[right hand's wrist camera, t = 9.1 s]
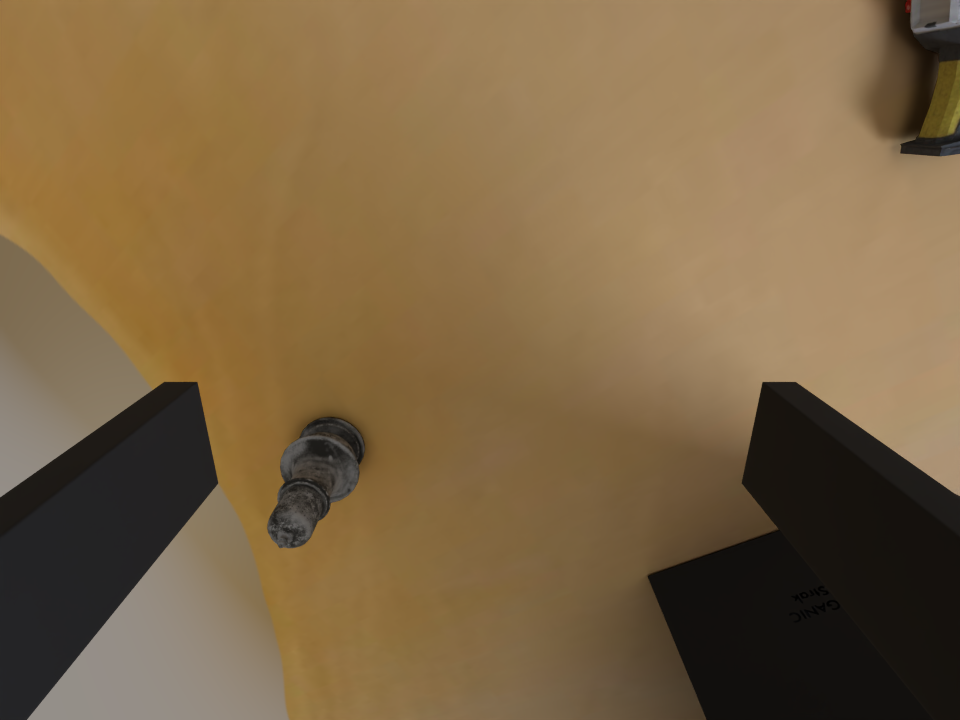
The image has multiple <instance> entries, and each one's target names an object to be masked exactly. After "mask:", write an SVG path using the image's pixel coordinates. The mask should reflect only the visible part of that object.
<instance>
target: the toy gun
mask: <svg viewBox="0 0 960 720" xmlns="http://www.w3.org/2000/svg"><path fill="white" fill-rule="evenodd" d="M905 10H906V13H909V12H911V14H910V23H911V29H912V31H913V32H914V34H913V36H914V37H915V38H916V39H917V40H918V41H919V43H920V44H921V45H922V46H923V47H924V48H925V49H927V50H930V51H933V52H937V53H939V71H938V78H937V82H936V86H935V89H934V93H933V97H932V101H931V104H930V107H929V110H928V112H927V115H926V118H925V121H924V123H923V126H922V129H921V131H920V134H919V136H918V137H917V138H916V140H913V141H910V142H906V143H903V144H901V152H900V153H902V154H916V155H929V156H947V155H954V154H960V0H907V2H906V4H905Z"/></svg>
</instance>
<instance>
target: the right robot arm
mask: <svg viewBox="0 0 960 720" xmlns="http://www.w3.org/2000/svg"><path fill="white" fill-rule="evenodd" d="M217 484H218V479H217V475H216V470H215V465H214V460H213V455H212V450H211V446H210V441H209V436H208V431H207V426H206V422H205V417H204V412H203V407H202V402H201V397H200V393H199V388H198V383H197V382H164V383H162V384H161V385H159V386H158V387H157V388H155V389H154V390H152V391H151V392H150V393H148V394H147V395H145V396H144V397H142V398H141V399H140V400H138V401H137V402H135V403H134V404H132V405H131V406H130V407H128V408H127V409H125V410H124V411H122V412H121V413H120V414H118V415H117V416H115V417H114V418H113V419H111V420H110V421H108V422H107V423H105V424H104V425H103V426H101V427H100V428H98V429H97V430H96V431H94V432H93V433H91V434H90V435H88V436H87V437H86V438H84V439H83V440H81V441H80V442H78V443H77V444H76V445H74V446H73V447H71V448H70V449H68V450H67V451H66V452H64V453H63V454H61V455H60V456H59V457H57V458H56V459H54V460H53V461H51V462H50V463H49V464H47V465H46V466H44V467H43V468H41V469H40V470H39V471H37V472H36V473H34V474H33V475H32V476H30V477H29V478H27V479H26V480H25V481H23V482H22V483H20V484H19V485H17V486H16V487H14V488H13V489H12V490H10V491H9V492H7V493H6V494H5V495H3V496H2V497H0V720H27V719H28V718H29V716H30V715H31V714H32V713H33V711H34V710H35V709H36V708H37V707H38V705H39V704H40V703H41V702H42V700H43V699H44V698H45V697H46V695H47V694H48V693H49V692H50V690H51V689H52V688H53V687H54V686H55V684H56V683H57V682H58V680H59V679H60V678H61V677H62V676H63V674H64V673H65V672H66V671H67V669H68V668H69V667H70V666H71V665H72V663H73V662H74V661H75V660H76V658H77V657H78V656H79V655H80V653H81V652H82V651H83V650H84V648H85V647H86V646H87V645H88V644H89V642H90V641H91V640H92V639H93V637H94V636H95V635H96V634H97V632H98V631H99V630H100V629H101V627H102V626H103V625H104V624H105V623H106V621H107V620H108V619H109V618H110V616H111V615H112V614H113V613H114V611H115V610H116V609H117V608H118V606H119V605H120V604H121V603H122V602H123V600H124V599H125V598H126V597H127V595H128V594H129V593H130V592H131V590H132V589H133V588H134V587H135V585H136V584H137V583H138V582H139V581H140V579H141V578H142V577H143V575H144V574H145V573H146V572H147V571H148V569H149V568H150V567H151V566H152V564H153V563H154V562H155V561H156V560H157V558H158V557H159V556H160V555H161V553H162V552H163V551H164V550H165V548H166V547H167V546H168V545H169V543H170V542H171V541H172V540H173V538H174V537H175V536H176V535H177V534H178V532H179V531H180V530H181V529H182V527H183V526H184V525H185V524H186V522H187V521H188V520H189V519H190V517H191V516H192V515H193V514H194V513H195V511H196V510H197V509H198V508H199V506H200V505H201V504H202V503H203V501H204V500H205V499H206V498H207V496H208V495H209V494H210V493H211V492H212V490H213V489H214V488H215V487H216V485H217ZM742 484H743V485H744V487H745V488H746V489H747V490H748V492H749V493H750V494H751V495H752V497H753V498H754V499H755V500H756V501H757V503H758V504H759V505H760V506H761V508H762V509H763V510H764V511H765V513H766V514H767V515H768V516H769V518H770V519H771V520H772V521H773V522H774V524H775V525H776V526H777V527H778V529H779V530H780V531H781V532H782V534H783V535H784V536H785V537H786V539H787V540H788V541H789V542H790V543H791V545H792V546H793V547H794V548H795V550H796V551H797V552H798V553H799V555H800V556H801V557H802V558H803V560H804V561H805V562H806V563H807V564H808V566H809V567H810V568H811V569H812V571H813V572H814V573H815V574H816V576H817V577H818V578H819V579H820V581H821V582H822V583H823V584H824V585H825V587H826V588H827V589H828V590H829V592H830V593H831V594H832V595H833V597H834V598H835V599H836V600H837V602H838V603H839V604H840V605H841V606H842V608H843V609H844V610H845V611H846V613H847V614H848V615H849V616H850V618H851V619H852V620H853V621H854V623H855V624H856V625H857V626H858V627H859V629H860V630H861V631H862V632H863V634H864V635H865V636H866V637H867V639H868V640H869V641H870V642H871V644H872V645H873V646H874V647H875V648H876V650H877V651H878V652H879V653H880V655H881V656H882V657H883V658H884V660H885V661H886V662H887V663H888V665H889V666H890V667H891V668H892V669H893V671H894V672H895V673H896V674H897V676H898V677H899V678H900V679H901V681H902V682H903V683H904V684H905V686H906V687H907V688H908V689H909V690H910V692H911V693H912V694H913V695H914V697H915V698H916V699H917V700H918V702H919V703H920V704H921V705H922V707H923V708H924V709H925V710H926V711H927V713H928V714H929V715H930V716H931V718H932V719H933V720H960V496H958V495H956V494H954V493H953V492H951V491H950V490H948V489H947V488H946V487H944V486H943V485H941V484H940V483H938V482H937V481H936V480H934V479H933V478H931V477H930V476H928V475H927V474H926V473H924V472H923V471H921V470H920V469H919V468H917V467H916V466H914V465H913V464H911V463H910V462H909V461H907V460H906V459H904V458H903V457H901V456H900V455H899V454H897V453H896V452H894V451H893V450H892V449H890V448H889V447H887V446H886V445H884V444H883V443H882V442H880V441H879V440H877V439H876V438H874V437H873V436H872V435H870V434H869V433H867V432H866V431H865V430H863V429H862V428H860V427H859V426H857V425H856V424H855V423H853V422H852V421H850V420H849V419H847V418H846V417H845V416H843V415H842V414H840V413H839V412H838V411H836V410H835V409H833V408H832V407H830V406H829V405H828V404H826V403H825V402H823V401H822V400H820V399H819V398H818V397H816V396H815V395H813V394H812V393H811V392H809V391H808V390H806V389H805V388H803V387H802V386H801V385H799V384H798V383H796V382H763V383H762V388H761V393H760V397H759V402H758V407H757V412H756V417H755V422H754V426H753V431H752V436H751V441H750V446H749V450H748V455H747V460H746V465H745V470H744V475H743V479H742Z"/></svg>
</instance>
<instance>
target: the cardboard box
mask: <svg viewBox="0 0 960 720" xmlns="http://www.w3.org/2000/svg"><path fill="white" fill-rule="evenodd" d="M648 579H649V581H650V583H651V586H652V588H653V591H654V593H655V596H656V598H657V600H658V603H659V605H660V608H661V610H662V612H663V615H664V617H665V620H666V622H667V625H668V627H669V629H670V632H671V634H672V637H673V639H674V642H675V644H676V646H677V649H678V651H679V654H680V656H681V659H682V661H683V663H684V666H685V668H686V671H687V673H688V676H689V678H690V680H691V683H692V685H693V688H694V690H695V692H696V695H697V697H698V700H699V702H700V705H701V707H702V709H703V712H704V714H705V717H706V719H707V720H933V719H932V718H931V716H930V715H929V714H928V713H927V711H926V710H925V709H924V708H923V707H922V705H921V704H920V703H919V702H918V700H917V699H916V698H915V697H914V695H913V694H912V693H911V692H910V690H909V689H908V688H907V687H906V686H905V684H904V683H903V682H902V681H901V679H900V678H899V677H898V676H897V674H896V673H895V672H894V671H893V669H892V668H891V667H890V666H889V665H888V663H887V662H886V661H885V660H884V658H883V657H882V656H881V655H880V653H879V652H878V651H877V650H876V648H875V647H874V646H873V645H872V644H871V642H870V641H869V640H868V639H867V637H866V636H865V635H864V634H863V632H862V631H861V630H860V629H859V627H858V626H857V625H856V624H855V623H854V621H853V620H852V619H851V618H850V616H849V615H848V614H847V613H846V611H845V610H844V609H843V608H842V606H841V605H840V604H839V603H838V602H837V600H836V599H835V598H834V597H833V595H832V594H831V593H830V592H829V590H828V589H827V588H826V587H825V585H824V584H823V583H822V582H821V581H820V579H819V578H818V577H817V576H816V574H815V573H814V572H813V571H812V569H811V568H810V567H809V566H808V564H807V563H806V562H805V561H804V560H803V558H802V557H801V556H800V555H799V553H798V552H797V551H796V550H795V548H794V547H793V546H792V545H791V543H790V542H789V541H788V540H787V539H786V537H785V536H784V535H783V534H782V532H781V531H777V532H774V533H771V534H768V535H766V536H763V537H760V538H757V539H754V540H751V541H748V542H745V543H743V544H740V545H737V546H734V547H731V548H728V549H725V550H722V551H719V552H717V553H714V554H711V555H708V556H705V557H702V558H699V559H696V560H694V561H691V562H688V563H685V564H682V565H679V566H676V567H673V568H670V569H668V570H665V571H662V572H659V573H656V574H653V575H650V576H648Z"/></svg>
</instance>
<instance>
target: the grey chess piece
mask: <svg viewBox="0 0 960 720" xmlns="http://www.w3.org/2000/svg"><path fill="white" fill-rule="evenodd" d="M364 451H365V447H364V441H363V439H362V437H361V434H360V433H359V432H358V431H357V429H356V428H355V427H353V426H352V425H351V424H349V423H348V422H346V421H343V420H341V419H337V418H321V419H318V420H315V421H313V422H311V423H310V424H308V425H307V426H306V428H305V429H304V430H303V431H302V434H301V436H300V438H299V439H297V440H296V441H294V442H292V443H291V444H290V445H289V446H288V447H287V449H286V450H285V451H284V453H283V456H282V458H281V465H280V469H281V474H282V477H283V479H284V481H285V483H284V484H283V485H282V486H281V488H280V490H279V492H278V498H277V499H278V504H277V506H276V508H275V509H274V511H273V513H272V514H271V516H270V518H269V520H268V527H267V529H268V533H269V535H270V537H271V539H272V540H273V541H274V542H275V543H276V544H277V545H278V546H279V548H283V547H285V548H296V547H300V546H302V545H304V544H305V543H306V542H307V541H308V540H309V539H310V537H311V535H312V533H313V531H314V529H315V527H316V524H317V522H318V521H319V520H321V519H323V518H324V517H325V516H326V515H327V513H328V511H329V509H330V504H331V503H332V502H336V501H339V500H341V499H343V498H345V497H347V496H348V495H349V494H350V493H351V492H352V491H353V490H354V488H355V486H356V484H357V482H358V479H359V464H360V462H361V461H362V459H363V456H364Z"/></svg>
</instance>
